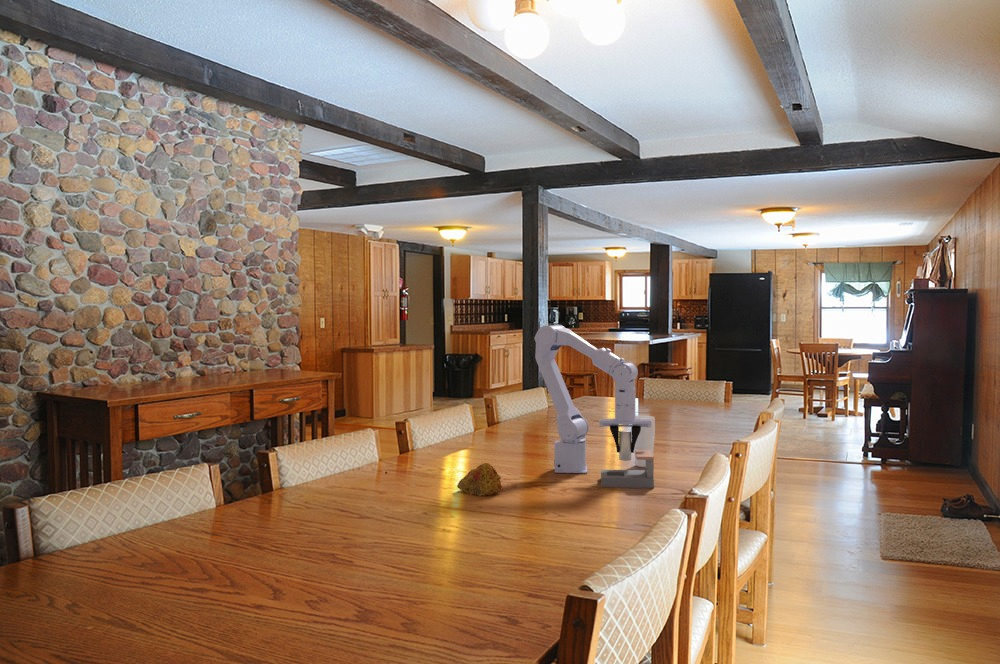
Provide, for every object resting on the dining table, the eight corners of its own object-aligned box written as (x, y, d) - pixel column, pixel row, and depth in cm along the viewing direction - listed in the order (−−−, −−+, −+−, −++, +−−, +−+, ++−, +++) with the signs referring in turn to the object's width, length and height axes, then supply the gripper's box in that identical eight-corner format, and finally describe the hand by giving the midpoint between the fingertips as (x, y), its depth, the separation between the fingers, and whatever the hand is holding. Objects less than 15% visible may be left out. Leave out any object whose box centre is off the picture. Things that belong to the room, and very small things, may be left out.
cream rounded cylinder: (653, 463, 224) (653, 415, 224) (656, 468, 218) (656, 418, 217) (631, 463, 225) (631, 415, 224) (633, 468, 218) (633, 418, 218)
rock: (468, 512, 189) (449, 480, 193) (485, 509, 196) (466, 479, 200) (497, 485, 185) (476, 454, 190) (513, 483, 193) (493, 453, 197)
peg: (619, 460, 207) (619, 432, 206) (619, 458, 210) (619, 430, 210) (631, 460, 206) (631, 432, 206) (630, 458, 210) (630, 430, 209)
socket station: (601, 486, 196) (600, 456, 196) (601, 478, 206) (600, 449, 206) (653, 488, 194) (653, 457, 194) (651, 479, 204) (651, 449, 204)
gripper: (599, 406, 204) (599, 454, 205) (652, 407, 203) (651, 455, 203) (599, 402, 211) (599, 449, 212) (650, 403, 210) (650, 450, 210)
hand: (625, 451), depth 208 cm, fingers closed on peg, 3 cm apart
